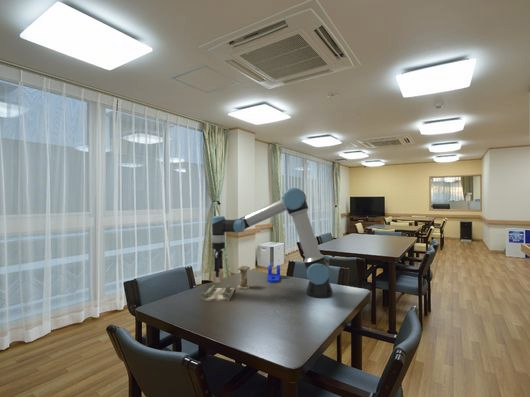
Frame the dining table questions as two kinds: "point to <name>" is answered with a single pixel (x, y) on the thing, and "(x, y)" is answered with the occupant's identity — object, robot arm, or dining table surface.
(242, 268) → the bobbin
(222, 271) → the tab
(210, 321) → the dining table surface
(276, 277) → the bracket
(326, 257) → the robot arm
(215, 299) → the board
